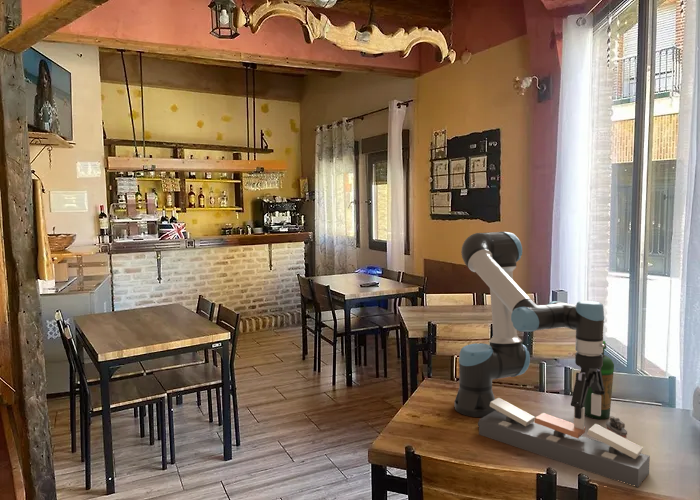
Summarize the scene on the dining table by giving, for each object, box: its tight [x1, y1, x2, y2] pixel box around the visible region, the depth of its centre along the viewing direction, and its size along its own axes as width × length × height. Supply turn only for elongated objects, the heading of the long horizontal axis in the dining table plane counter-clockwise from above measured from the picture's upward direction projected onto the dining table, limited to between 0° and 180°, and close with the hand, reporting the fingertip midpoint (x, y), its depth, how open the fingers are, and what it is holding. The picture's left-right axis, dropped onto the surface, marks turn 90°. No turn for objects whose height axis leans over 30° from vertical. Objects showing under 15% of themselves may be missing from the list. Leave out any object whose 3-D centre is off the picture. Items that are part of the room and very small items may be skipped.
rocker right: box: [586, 423, 644, 459], centre depth 144 cm, size 13×5×2 cm, turn 45°
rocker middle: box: [534, 412, 586, 438], centre depth 155 cm, size 13×5×2 cm, turn 45°
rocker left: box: [490, 397, 536, 426], centre depth 166 cm, size 13×5×2 cm, turn 45°
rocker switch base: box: [477, 411, 651, 488], centre depth 155 cm, size 50×10×7 cm, turn 45°
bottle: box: [583, 339, 615, 420], centre depth 181 cm, size 11×11×28 cm
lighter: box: [605, 416, 628, 439], centre depth 155 cm, size 8×3×10 cm, turn 5°
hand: (587, 421), depth 156 cm, fingers open, 13 cm apart
